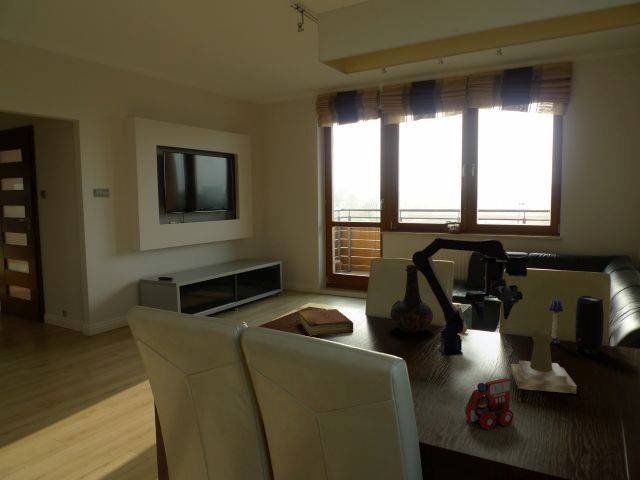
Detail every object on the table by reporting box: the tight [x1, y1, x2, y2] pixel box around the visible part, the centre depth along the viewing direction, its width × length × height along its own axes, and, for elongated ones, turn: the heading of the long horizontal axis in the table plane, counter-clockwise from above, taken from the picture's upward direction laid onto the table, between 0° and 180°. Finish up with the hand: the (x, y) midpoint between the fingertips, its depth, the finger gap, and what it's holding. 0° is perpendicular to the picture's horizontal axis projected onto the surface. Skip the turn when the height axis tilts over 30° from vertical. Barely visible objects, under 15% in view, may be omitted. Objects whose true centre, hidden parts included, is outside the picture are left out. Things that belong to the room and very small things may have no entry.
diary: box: [298, 308, 354, 336], centre depth 200 cm, size 23×19×6 cm
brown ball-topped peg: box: [530, 330, 553, 372], centre depth 136 cm, size 6×6×11 cm
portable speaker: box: [574, 295, 605, 355], centre depth 162 cm, size 9×9×20 cm
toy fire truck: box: [464, 377, 515, 430], centre depth 111 cm, size 7×12×10 cm, turn 109°
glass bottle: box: [389, 264, 434, 334], centre depth 193 cm, size 18×18×28 cm
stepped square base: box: [510, 360, 577, 394], centre depth 136 cm, size 15×15×4 cm
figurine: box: [454, 304, 468, 334], centre depth 188 cm, size 8×6×12 cm
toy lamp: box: [548, 298, 564, 345], centre depth 172 cm, size 5×5×17 cm
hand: (493, 320), depth 158 cm, fingers open, 9 cm apart
